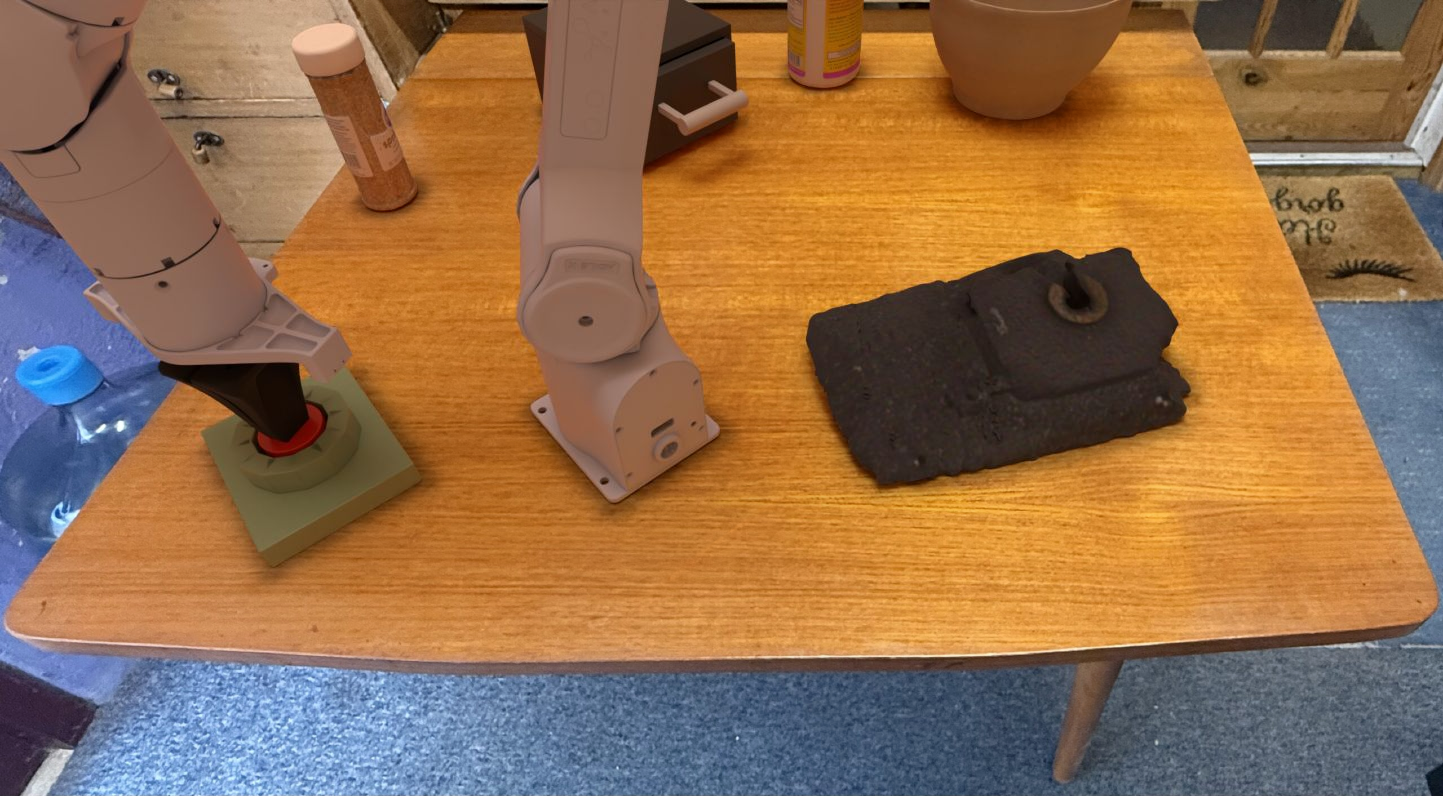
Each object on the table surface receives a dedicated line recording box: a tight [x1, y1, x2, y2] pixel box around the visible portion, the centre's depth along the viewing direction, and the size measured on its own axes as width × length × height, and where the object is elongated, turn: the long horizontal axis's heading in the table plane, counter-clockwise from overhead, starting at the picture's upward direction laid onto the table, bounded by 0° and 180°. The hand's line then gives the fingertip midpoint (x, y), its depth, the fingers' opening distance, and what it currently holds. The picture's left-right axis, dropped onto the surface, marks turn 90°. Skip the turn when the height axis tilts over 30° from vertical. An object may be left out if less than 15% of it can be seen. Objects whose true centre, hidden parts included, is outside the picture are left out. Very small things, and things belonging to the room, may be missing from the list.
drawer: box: [643, 38, 750, 166], centre depth 69 cm, size 17×10×7 cm, turn 39°
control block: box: [200, 364, 423, 568], centre depth 49 cm, size 11×9×4 cm
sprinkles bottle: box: [290, 22, 418, 212], centre depth 63 cm, size 5×5×14 cm
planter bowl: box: [929, 0, 1135, 121], centre depth 69 cm, size 16×16×11 cm
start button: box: [258, 404, 327, 458], centre depth 48 cm, size 4×4×2 cm
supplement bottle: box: [786, 0, 865, 89], centre depth 73 cm, size 7×7×13 cm
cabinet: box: [521, 0, 733, 159], centre depth 71 cm, size 14×12×9 cm
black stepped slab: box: [805, 246, 1192, 484], centre depth 51 cm, size 15×22×5 cm
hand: (289, 427), depth 47 cm, fingers closed, pressing on start button
